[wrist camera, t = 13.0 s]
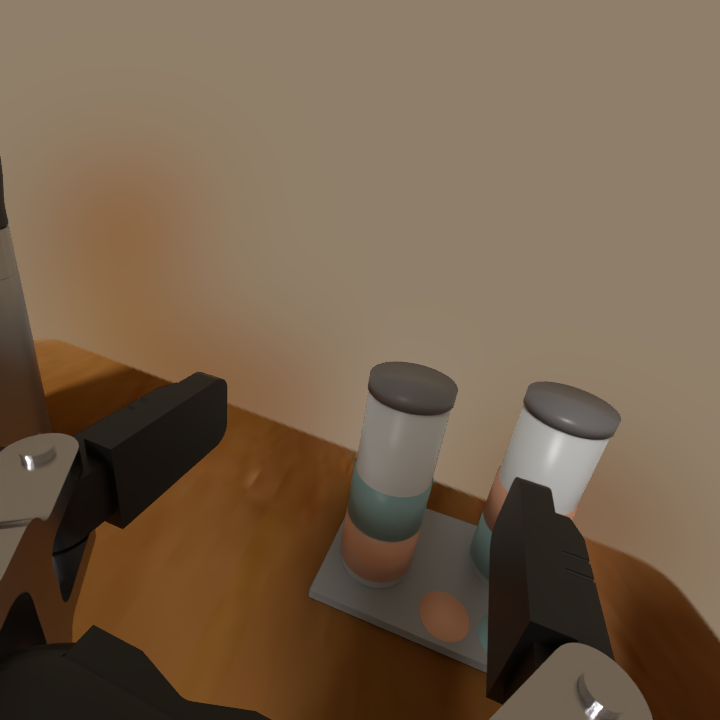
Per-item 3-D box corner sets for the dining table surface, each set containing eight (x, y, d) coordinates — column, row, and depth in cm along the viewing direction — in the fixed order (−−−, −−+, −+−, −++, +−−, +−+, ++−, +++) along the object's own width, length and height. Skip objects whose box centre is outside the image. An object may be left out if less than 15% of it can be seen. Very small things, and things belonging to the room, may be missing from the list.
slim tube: (328, 571, 25) (358, 384, 20) (353, 519, 29) (383, 355, 24) (401, 601, 24) (453, 411, 18) (416, 542, 28) (461, 375, 23)
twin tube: (465, 582, 25) (531, 409, 20) (469, 529, 30) (524, 374, 24) (542, 611, 24) (633, 437, 19) (535, 552, 29) (608, 395, 23)
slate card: (308, 596, 24) (309, 589, 23) (359, 490, 33) (360, 484, 32) (550, 700, 21) (554, 693, 20) (533, 551, 29) (536, 545, 29)
